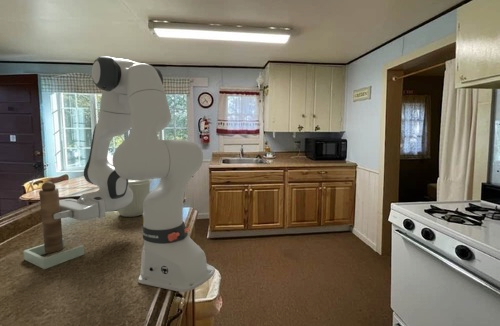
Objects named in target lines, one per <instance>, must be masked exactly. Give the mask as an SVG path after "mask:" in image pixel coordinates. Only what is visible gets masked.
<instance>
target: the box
mask: <svg viewBox="0 0 500 326" xmlns="http://www.w3.org/2000/svg"><path fill="white" fill-rule="evenodd" d="M62 239H63V248H66V243H65V242H66V241H65V238H63V237H62ZM22 253H23V259H24V260H25V261H27V262H29V263H30V264H33V265H35V266H37V267H38V268H41V269H42V270H46V269H49V268H52V267H54V266H58V265H60V264H63V263H65V262H67V261H69V260H73V259H76V258H78V257H81V256H83V255H85V246H84V245H82V244H81V245H78V246H75V247H72V248H70V249H67V250H64V251H61V252H59V253H55V254H53V255H49V256H46V257H45V256H43V255H45V254H48V253H47V252H45V246H44V243H43V244H41V245H37V246H33V247H31V248H27V249H24V250H23V251H22Z"/></svg>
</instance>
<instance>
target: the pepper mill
mask: <svg viewBox="0 0 500 326" xmlns="http://www.w3.org/2000/svg"><path fill="white" fill-rule="evenodd" d="M38 192H39V203H40V212H41V223H42V234H43V244H44V246H45V252H47V253H46V254H49V253H56V252H59V251H62V250H63V249H64V247H63V239H64V238H63V230H62V229H63V228H62V218H59V219H54V218H52V214H53V213H56V212H60V203H59V200H60V194H59V193H60V192H59V189H58V188H56V184H55V183H54V182H52V181H46V182H44V183H43V184H42V186H41V189H40V190H39V191H38ZM62 238H63V239H62Z"/></svg>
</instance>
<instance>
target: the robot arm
mask: <svg viewBox="0 0 500 326" xmlns="http://www.w3.org/2000/svg"><path fill="white" fill-rule="evenodd" d="M91 77H92V81H93V84H94V85H95V86H96V88H98V89H99V90H102V92H101V97H100V103H99V116H98V120H97V123H96V124H95V126H94V129H93V133H92V139H91V143H90V150H89V155H88V160H87V162H86V164H85V167H84V170H83V177H84V179H85V181H86V182H87V183H89V184H91V185H95V186H97V187H99V188H98V190H97V191H92V192H86V193H82V194H81V195H80V197H79V198H78V199H76V198H75V199H74V198H65V199H59V203H60V212H56V213H53V214H52V218H54V219H59V218H61V219H67V218H68V219H69V218H70V219H73V220H77V221H88V220H93V219H98V218H99V219H102V218H104V217H106V213H107V212H108V213H110V212H114V211H118V209H121V208H124V207H126V206H127V205H129V204H130V203H131V202H132V199H133V192H132V190H131V189H130V187H129V185H128V180H149V179H150V180H156V179H160V181H159V183H158V185H157V186H156V187H155V188H154V189H153V190H152V191H149V194H148V195H147V196H146V197H145V199H144V202H143V213H144V225H143V224H142V231H141V234H142V239H143V246H142V250H141V260H140V262H141V263H140V271H139V274H140V275H139V276H138V279H137V280H138V283H139V284H142V285H146V286H151V287H157V288H161V289H164V290H165V289H166V290H171V291H175V292H179V293H185V292H190V291H192V290H195V289H196V288H198V287H200V286H203V285H204V284H205V283H207V281H209V280H210V279H211V278H212V277H214V275H215V273H216V269H215V267H214V266H213V265H210V264H209V263H207V257H206V252H205V251H204V250H203V249H202V248H201V246H200V245H199V244H197V243H196V242H195V241H194V240H193V239H192V238H191V237H190V236H189V232H190V231H191V230H190V229H191V227H190V226H189V227H187V226H186V224H185V222H184V219H183V218H184V216H183V215H184V212H183V210H184V195H185V192H186V189H187V186H188V184H189V182H190V181H191V179H192V177H193V176H194V175H195V174H196V173H197V172H198V171H199V170H200V169H201V167H202V165H203V161H204V154H203V151H202V148H201V147H200V145H199V144H198V143H197V142H196V141H192V140H186V139H159V135H158V133H159V132H161V131H163V130H164V129H166V128H167V127H168V126H169V125H170V122H171V118H172V114H171V111H170V106H169V101H168V98H167V94H166V91H165V88H164V78H163V74H162V72H161V70H160V69H158V68H157V67H155V66H153V65H151V64H148V63H141V62H138V61H133V60H131V59H124V58H118V57H117V58H116V57H112V56H109V55H108V56H98V57H97V58H96V59H95V60H94V62H93V64H92V68H91ZM128 132H129V133H128ZM126 133H128V136H127V137H126V138H125V140H124V141H123V142H122V143H120V144H119V145H117V147H116V149H115V150H114V153H113V154H112V155H113V156H112V163H110V162H109V161H108V155H109V154H108V153H109V148H110V142H111V140H112V139H113V138H115V137H118V136H123V135H124V134H126Z"/></svg>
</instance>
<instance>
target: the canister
mask: <svg viewBox="0 0 500 326" xmlns="http://www.w3.org/2000/svg"><path fill="white" fill-rule="evenodd" d="M151 182H152V179H149V180H128V185H129V187H130V189H131V190H132V192H133V199H132V202H131V203H130V204H129V205H127V206H126V207H124V208H121V209H118V210H117V212H118V214H119V215H120V216H121V217H127V218H131V217H132V218H133V217H138V216H139V217H140V216H143V202H144V199H145V197H146V196H147V195H148V194H149V193H150V190H151V189H150V188H151V185H150V184H151Z"/></svg>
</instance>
